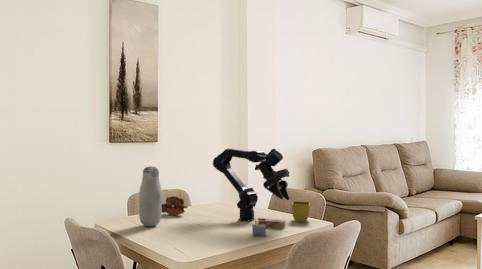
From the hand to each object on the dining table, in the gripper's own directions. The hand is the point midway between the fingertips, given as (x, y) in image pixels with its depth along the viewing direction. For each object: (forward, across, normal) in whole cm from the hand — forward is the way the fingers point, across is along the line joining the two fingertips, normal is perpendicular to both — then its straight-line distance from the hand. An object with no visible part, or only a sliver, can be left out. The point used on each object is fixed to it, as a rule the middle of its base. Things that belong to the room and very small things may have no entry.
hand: (285, 199), depth 191 cm
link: (+6, -1, +13) cm, 15 cm away
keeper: (+10, -18, +14) cm, 25 cm away
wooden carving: (-29, +1, +57) cm, 64 cm away
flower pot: (+10, +17, +4) cm, 20 cm away
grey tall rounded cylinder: (-22, -24, +56) cm, 65 cm away
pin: (+5, -8, +17) cm, 19 cm away
